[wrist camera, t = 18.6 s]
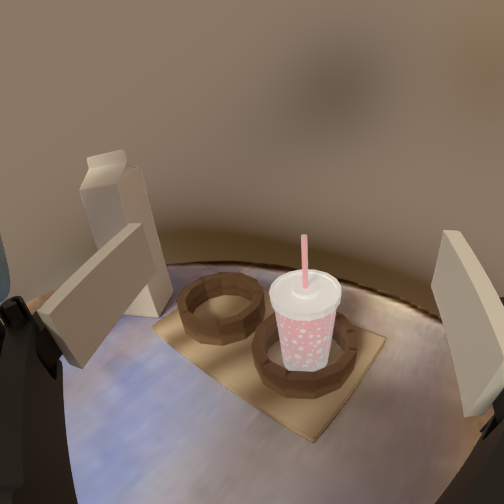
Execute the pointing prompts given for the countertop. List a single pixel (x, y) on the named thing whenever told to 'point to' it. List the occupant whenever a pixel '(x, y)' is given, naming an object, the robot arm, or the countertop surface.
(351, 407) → the countertop surface
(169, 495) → the countertop surface
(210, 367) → the socket board
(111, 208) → the milk
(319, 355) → the beverage cup
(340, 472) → the countertop surface
